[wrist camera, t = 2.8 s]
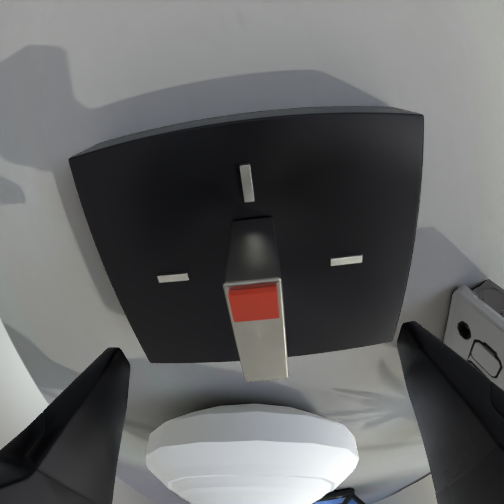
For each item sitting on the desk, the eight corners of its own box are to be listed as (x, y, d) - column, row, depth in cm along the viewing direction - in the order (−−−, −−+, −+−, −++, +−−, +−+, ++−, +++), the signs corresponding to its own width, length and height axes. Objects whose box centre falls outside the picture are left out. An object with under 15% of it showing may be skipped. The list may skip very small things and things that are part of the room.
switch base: (160, 328, 19) (149, 365, 16) (99, 143, 13) (65, 159, 10) (378, 307, 18) (393, 343, 15) (392, 106, 12) (426, 115, 9)
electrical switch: (450, 284, 17) (529, 383, 9) (498, 260, 17) (575, 339, 9) (435, 363, 22) (480, 445, 14) (477, 340, 21) (525, 412, 13)
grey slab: (281, 308, 14) (289, 384, 10) (246, 311, 14) (245, 388, 10) (273, 215, 11) (282, 284, 8) (231, 220, 11) (221, 290, 8)
